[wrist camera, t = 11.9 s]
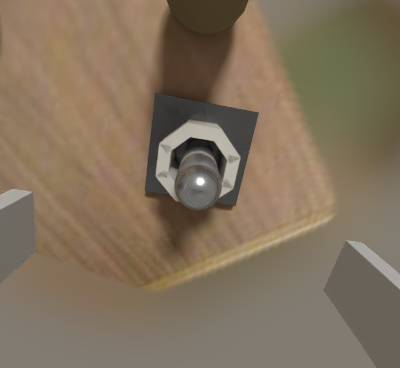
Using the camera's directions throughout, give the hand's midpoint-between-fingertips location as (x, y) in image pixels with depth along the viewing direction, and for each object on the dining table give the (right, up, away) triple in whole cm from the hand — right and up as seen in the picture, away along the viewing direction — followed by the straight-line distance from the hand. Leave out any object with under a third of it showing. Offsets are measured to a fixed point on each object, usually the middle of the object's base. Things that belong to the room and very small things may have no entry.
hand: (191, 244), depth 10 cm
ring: (0, +6, +18) cm, 20 cm away
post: (0, +7, +20) cm, 21 cm away
